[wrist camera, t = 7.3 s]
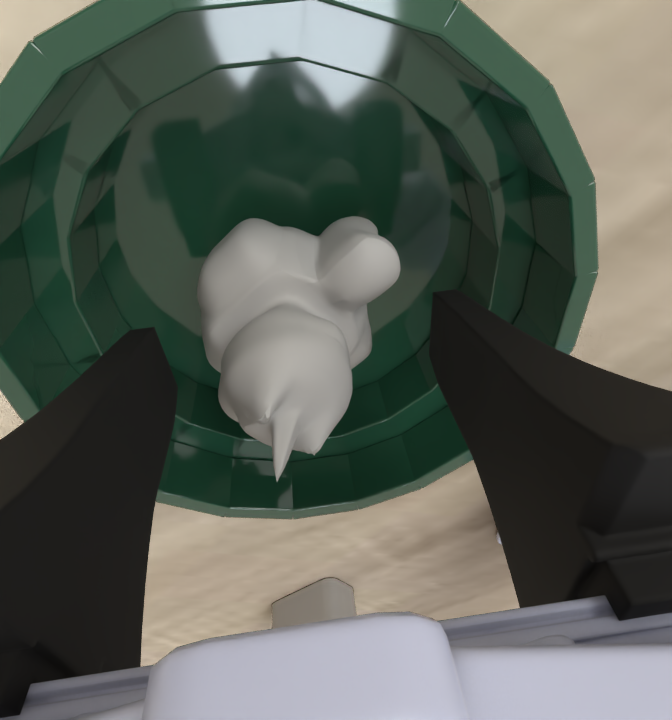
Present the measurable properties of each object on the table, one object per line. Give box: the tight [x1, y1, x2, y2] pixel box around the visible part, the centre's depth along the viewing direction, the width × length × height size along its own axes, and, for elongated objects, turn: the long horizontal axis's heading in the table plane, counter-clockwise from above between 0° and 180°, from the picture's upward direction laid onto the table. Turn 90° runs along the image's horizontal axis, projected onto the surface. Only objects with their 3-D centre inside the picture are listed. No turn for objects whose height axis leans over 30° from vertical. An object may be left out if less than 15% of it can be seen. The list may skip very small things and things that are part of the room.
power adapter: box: [272, 578, 357, 629], centre depth 27 cm, size 3×5×12 cm, turn 126°
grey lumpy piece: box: [197, 216, 401, 481], centre depth 12 cm, size 5×7×8 cm
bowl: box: [0, 0, 598, 519], centre depth 14 cm, size 15×15×5 cm
